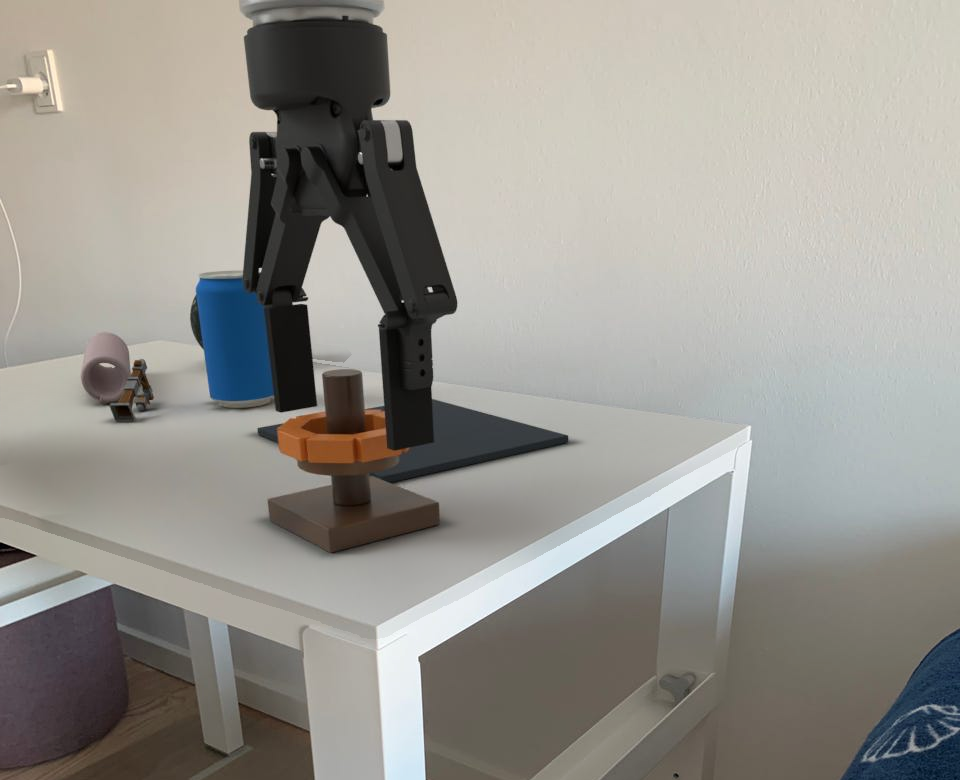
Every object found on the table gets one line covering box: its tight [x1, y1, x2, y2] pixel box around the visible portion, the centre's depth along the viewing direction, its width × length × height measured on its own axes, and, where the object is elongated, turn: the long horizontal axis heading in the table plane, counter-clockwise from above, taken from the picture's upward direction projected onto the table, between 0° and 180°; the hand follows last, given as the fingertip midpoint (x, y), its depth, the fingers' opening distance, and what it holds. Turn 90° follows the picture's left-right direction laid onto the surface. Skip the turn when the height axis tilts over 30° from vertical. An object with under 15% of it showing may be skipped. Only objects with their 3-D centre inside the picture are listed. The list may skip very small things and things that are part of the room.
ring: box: [277, 410, 409, 463], centre depth 62 cm, size 8×8×1 cm
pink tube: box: [80, 331, 132, 405], centre depth 106 cm, size 5×5×18 cm
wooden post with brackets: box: [108, 358, 155, 422], centre depth 95 cm, size 2×8×4 cm, turn 178°
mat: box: [256, 398, 569, 484], centre depth 84 cm, size 20×18×1 cm
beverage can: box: [195, 269, 274, 409], centre depth 96 cm, size 6×6×12 cm
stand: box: [267, 368, 441, 554], centre depth 62 cm, size 8×8×10 cm
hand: (349, 426), depth 62 cm, fingers open, 13 cm apart
